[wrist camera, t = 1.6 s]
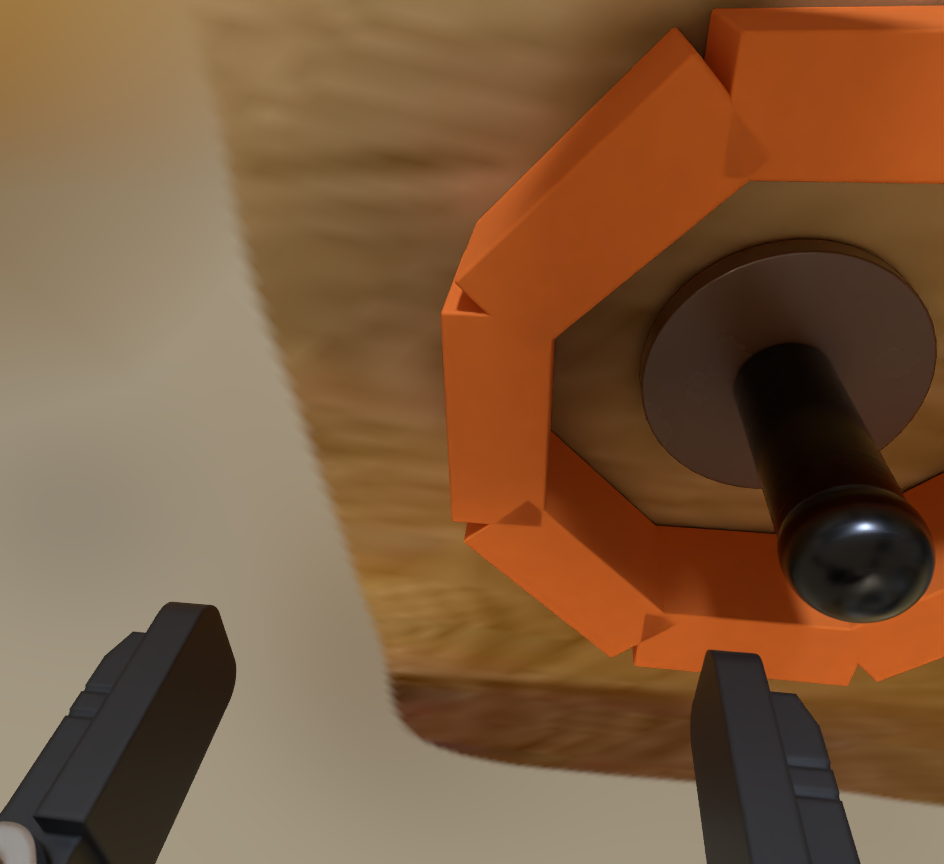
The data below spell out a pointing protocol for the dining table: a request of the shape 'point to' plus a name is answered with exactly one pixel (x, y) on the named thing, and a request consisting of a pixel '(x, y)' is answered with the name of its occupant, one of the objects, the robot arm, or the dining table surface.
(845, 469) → the peg stand
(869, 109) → the ring
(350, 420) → the dining table surface
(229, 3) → the dining table surface
